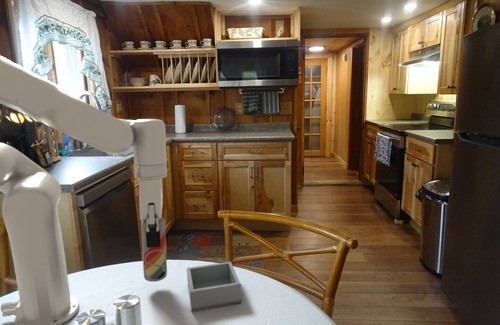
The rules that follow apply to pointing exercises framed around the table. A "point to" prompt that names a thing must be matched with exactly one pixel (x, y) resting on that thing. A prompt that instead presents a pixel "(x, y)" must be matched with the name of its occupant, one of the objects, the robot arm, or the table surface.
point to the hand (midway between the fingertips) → (154, 240)
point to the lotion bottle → (154, 254)
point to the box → (213, 286)
